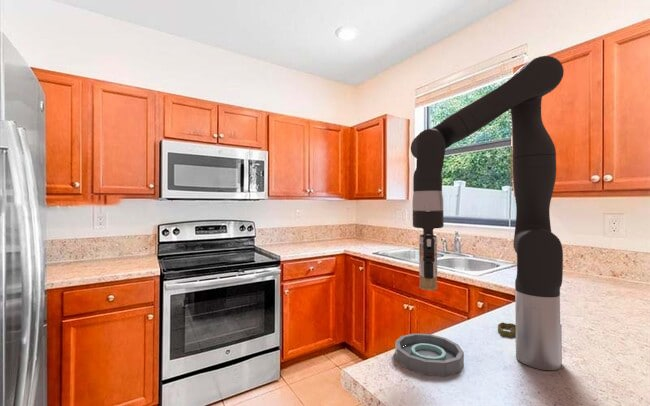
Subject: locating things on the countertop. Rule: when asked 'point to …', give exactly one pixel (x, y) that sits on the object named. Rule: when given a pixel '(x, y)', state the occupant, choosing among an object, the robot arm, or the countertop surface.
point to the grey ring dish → (429, 354)
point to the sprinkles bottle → (424, 282)
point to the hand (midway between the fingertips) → (428, 275)
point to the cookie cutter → (508, 326)
